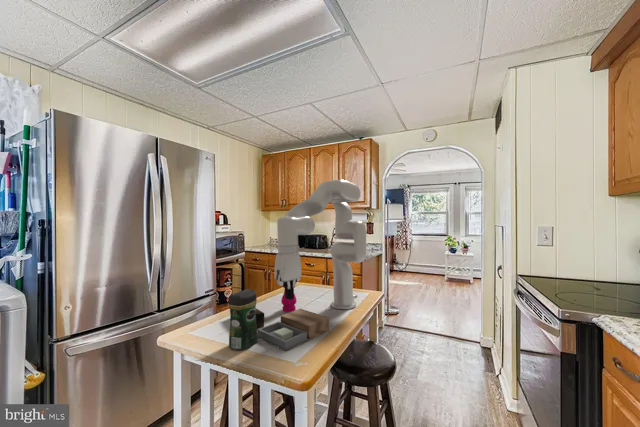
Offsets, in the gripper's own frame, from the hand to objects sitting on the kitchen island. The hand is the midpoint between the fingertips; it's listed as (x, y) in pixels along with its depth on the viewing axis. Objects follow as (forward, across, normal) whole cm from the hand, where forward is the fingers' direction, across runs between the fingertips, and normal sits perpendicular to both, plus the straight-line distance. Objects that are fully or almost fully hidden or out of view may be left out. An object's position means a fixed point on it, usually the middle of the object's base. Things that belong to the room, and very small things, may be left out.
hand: (289, 298), depth 100 cm
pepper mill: (+14, -18, -22) cm, 32 cm away
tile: (+11, +4, 0) cm, 12 cm away
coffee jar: (+14, +16, -7) cm, 22 cm away
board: (+14, -7, 0) cm, 16 cm away
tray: (+14, +4, 0) cm, 14 cm away
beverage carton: (+14, +4, -24) cm, 28 cm away
